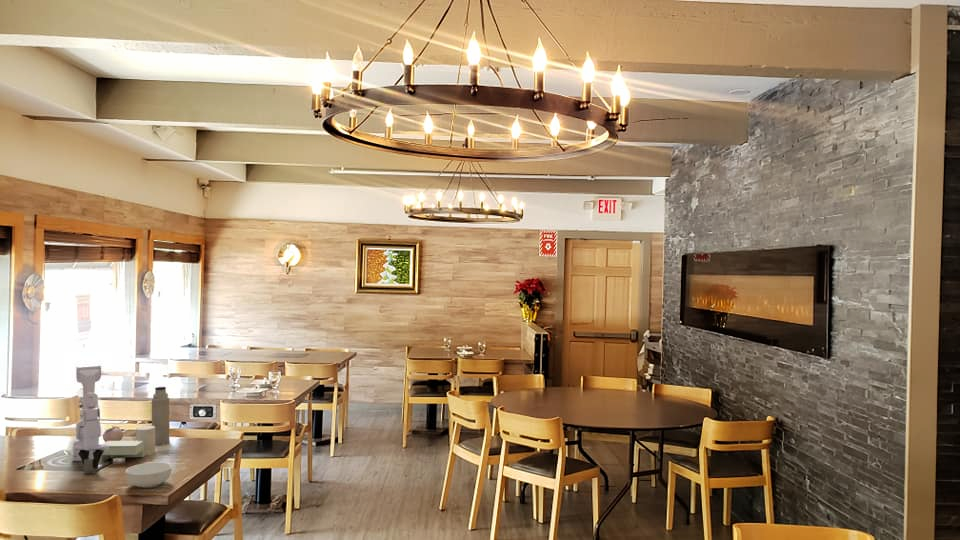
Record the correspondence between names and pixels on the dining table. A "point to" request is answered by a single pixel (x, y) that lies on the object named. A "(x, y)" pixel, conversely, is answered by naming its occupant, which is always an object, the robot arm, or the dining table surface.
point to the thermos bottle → (160, 415)
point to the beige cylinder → (146, 438)
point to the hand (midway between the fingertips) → (91, 467)
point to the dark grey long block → (92, 465)
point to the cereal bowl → (148, 474)
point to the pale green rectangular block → (123, 449)
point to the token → (118, 460)
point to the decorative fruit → (113, 434)
